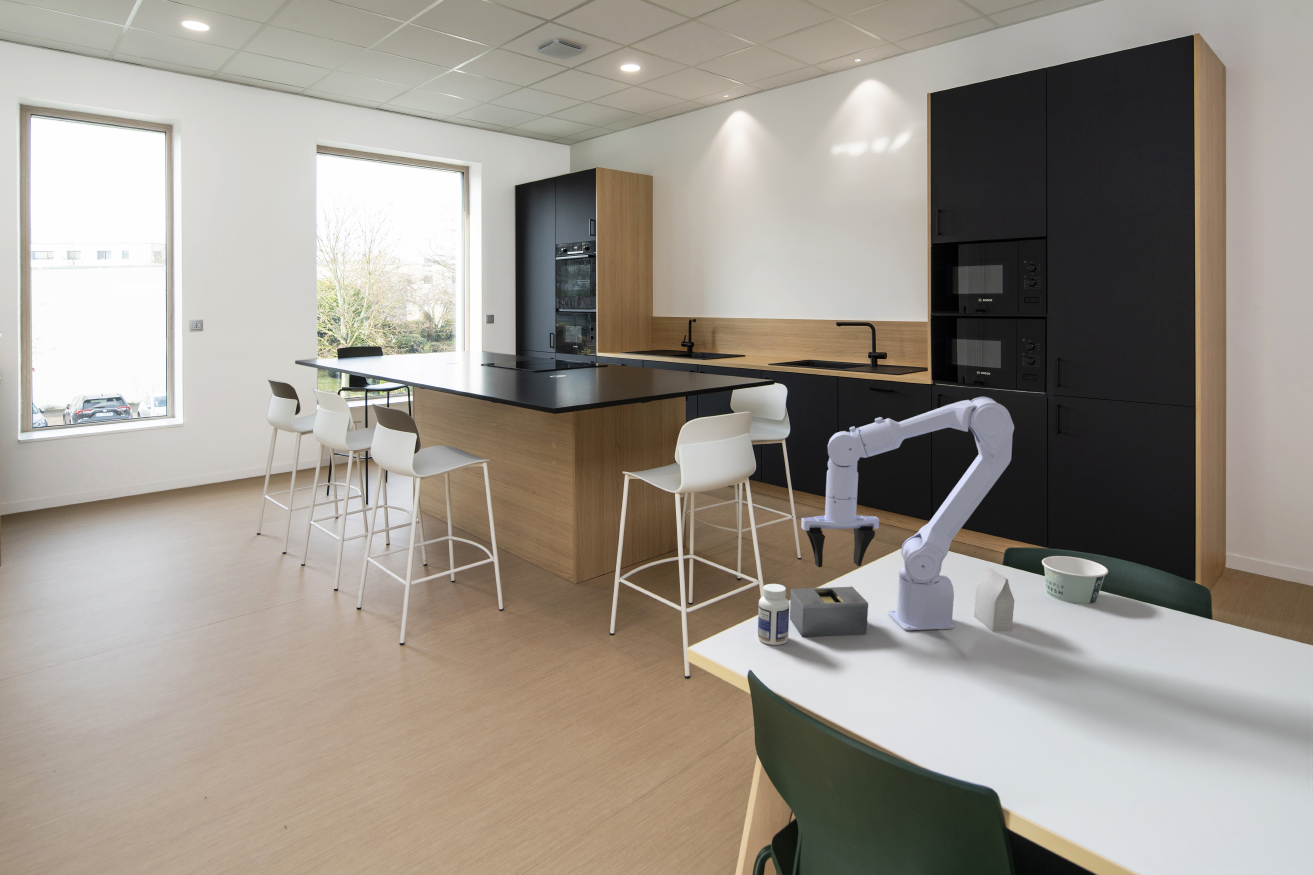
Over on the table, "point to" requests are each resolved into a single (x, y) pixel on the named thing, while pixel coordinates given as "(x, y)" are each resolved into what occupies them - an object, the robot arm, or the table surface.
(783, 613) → the pill bottle
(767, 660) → the table surface
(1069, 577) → the food container
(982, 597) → the white gabled box
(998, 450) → the robot arm
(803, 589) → the grey slotted block
